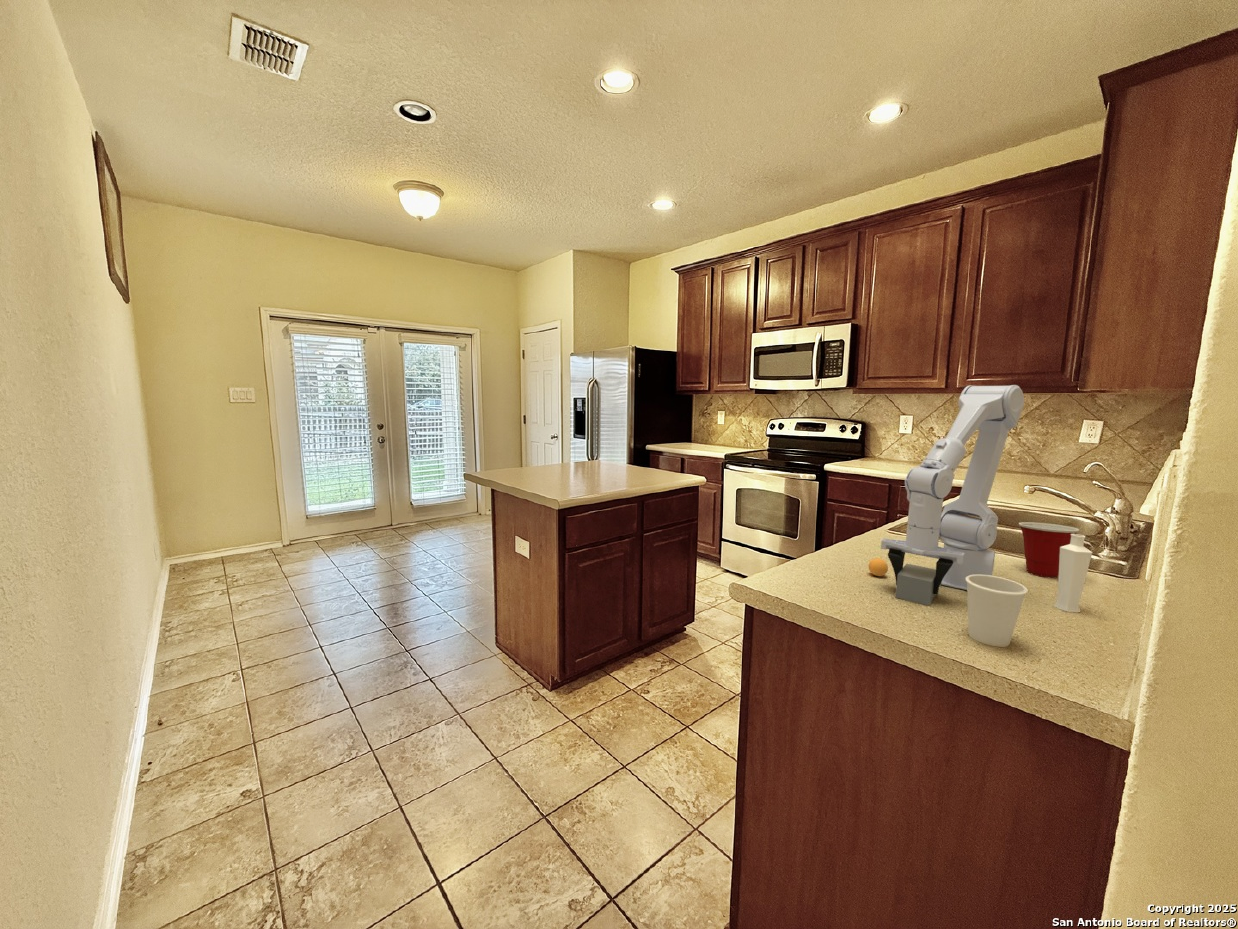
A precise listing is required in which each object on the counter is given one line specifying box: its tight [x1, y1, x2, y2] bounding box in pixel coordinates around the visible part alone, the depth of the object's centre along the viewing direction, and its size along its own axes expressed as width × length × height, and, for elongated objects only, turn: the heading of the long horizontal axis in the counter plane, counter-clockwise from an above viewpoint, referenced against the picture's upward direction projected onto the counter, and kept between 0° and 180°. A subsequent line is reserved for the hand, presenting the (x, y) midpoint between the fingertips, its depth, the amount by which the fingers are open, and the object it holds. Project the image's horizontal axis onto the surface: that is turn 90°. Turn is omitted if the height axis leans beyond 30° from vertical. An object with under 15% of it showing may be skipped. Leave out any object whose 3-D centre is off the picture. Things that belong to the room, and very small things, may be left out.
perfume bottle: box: [1053, 533, 1093, 613], centre depth 95 cm, size 5×4×15 cm
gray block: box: [894, 563, 936, 607], centre depth 102 cm, size 6×9×5 cm, turn 139°
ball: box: [868, 558, 889, 577], centre depth 113 cm, size 4×4×4 cm
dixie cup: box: [966, 574, 1029, 648], centre depth 83 cm, size 8×8×10 cm
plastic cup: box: [1018, 521, 1080, 578], centre depth 115 cm, size 11×11×12 cm
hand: (916, 588), depth 102 cm, fingers closed on gray block, 6 cm apart
